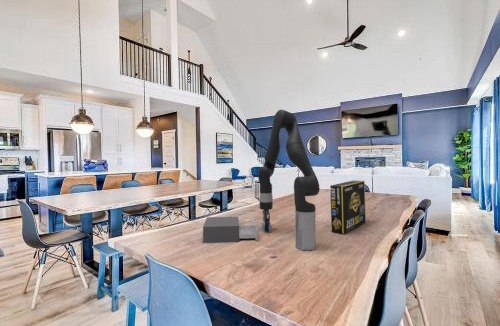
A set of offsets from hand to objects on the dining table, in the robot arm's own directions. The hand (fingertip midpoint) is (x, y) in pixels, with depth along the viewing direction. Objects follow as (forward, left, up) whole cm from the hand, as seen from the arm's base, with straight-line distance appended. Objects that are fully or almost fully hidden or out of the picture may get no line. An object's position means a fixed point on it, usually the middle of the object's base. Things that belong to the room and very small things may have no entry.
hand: (266, 230), depth 148 cm
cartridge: (0, 0, 0) cm, 0 cm away
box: (+2, -50, -1) cm, 50 cm away
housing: (-8, +25, 0) cm, 26 cm away
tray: (-8, +15, 0) cm, 17 cm away
